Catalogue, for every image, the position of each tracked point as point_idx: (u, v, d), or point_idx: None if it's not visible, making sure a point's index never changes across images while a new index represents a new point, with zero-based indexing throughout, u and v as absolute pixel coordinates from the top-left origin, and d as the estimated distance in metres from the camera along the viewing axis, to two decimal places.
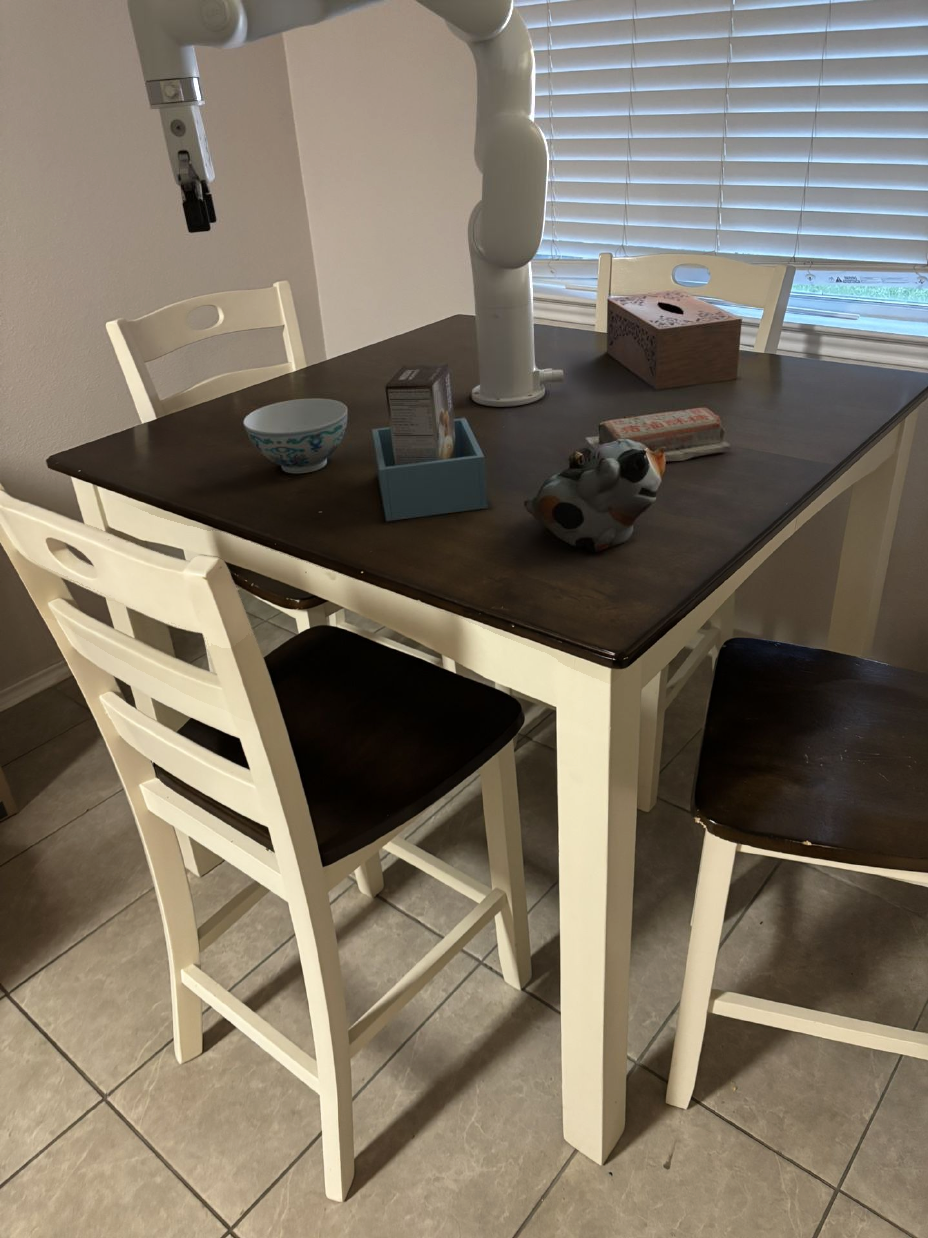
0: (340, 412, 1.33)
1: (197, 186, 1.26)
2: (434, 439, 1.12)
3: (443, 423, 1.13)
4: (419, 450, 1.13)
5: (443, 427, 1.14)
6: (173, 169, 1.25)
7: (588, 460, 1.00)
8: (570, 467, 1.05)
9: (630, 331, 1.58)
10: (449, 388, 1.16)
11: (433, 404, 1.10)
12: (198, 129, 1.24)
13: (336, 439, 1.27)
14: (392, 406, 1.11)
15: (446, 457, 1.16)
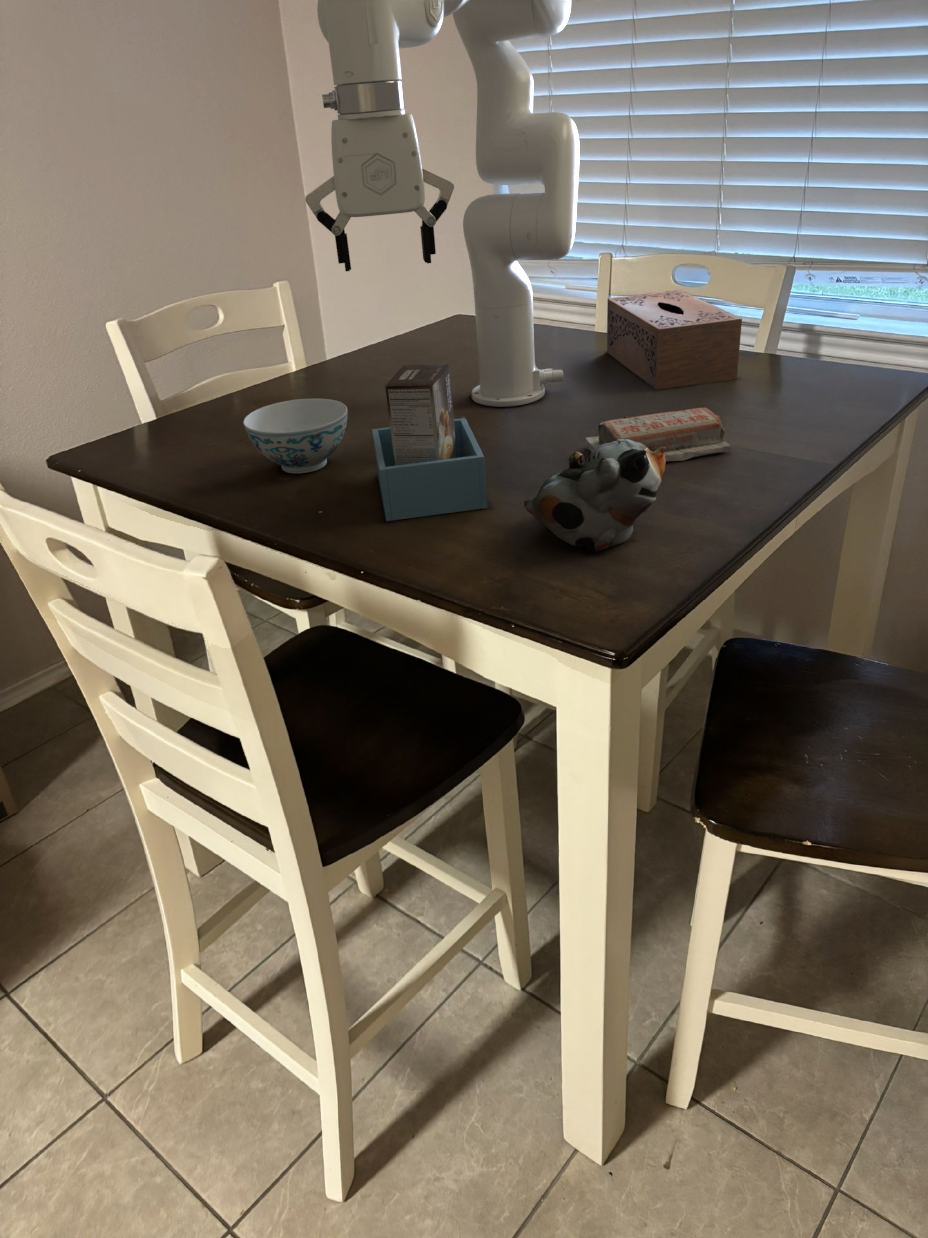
0: (340, 412, 1.33)
1: (337, 217, 1.04)
2: (434, 439, 1.12)
3: (443, 423, 1.13)
4: (419, 450, 1.13)
5: (443, 427, 1.14)
6: None
7: (588, 460, 1.00)
8: (570, 467, 1.05)
9: (630, 331, 1.58)
10: (449, 388, 1.16)
11: (433, 404, 1.10)
12: (342, 150, 0.99)
13: (336, 439, 1.27)
14: (392, 406, 1.11)
15: (446, 457, 1.16)
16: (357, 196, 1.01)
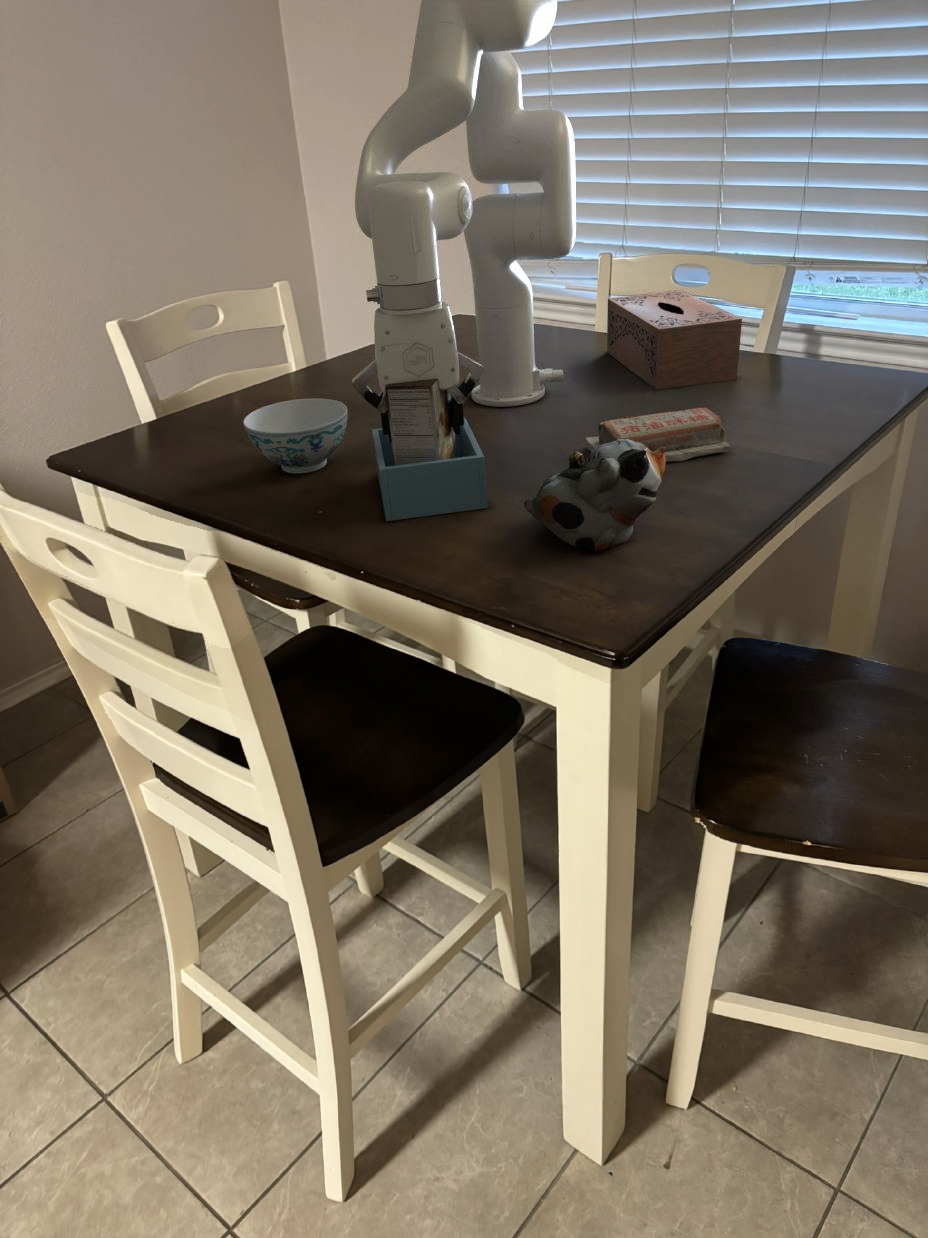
0: (340, 412, 1.33)
1: (382, 397, 1.12)
2: (434, 440, 1.12)
3: (443, 423, 1.13)
4: (419, 450, 1.13)
5: (443, 427, 1.14)
6: None
7: (588, 460, 1.00)
8: (570, 467, 1.05)
9: (630, 331, 1.58)
10: None
11: (432, 404, 1.10)
12: (384, 340, 1.07)
13: (336, 439, 1.27)
14: (391, 406, 1.11)
15: (446, 457, 1.16)
16: (398, 379, 1.10)
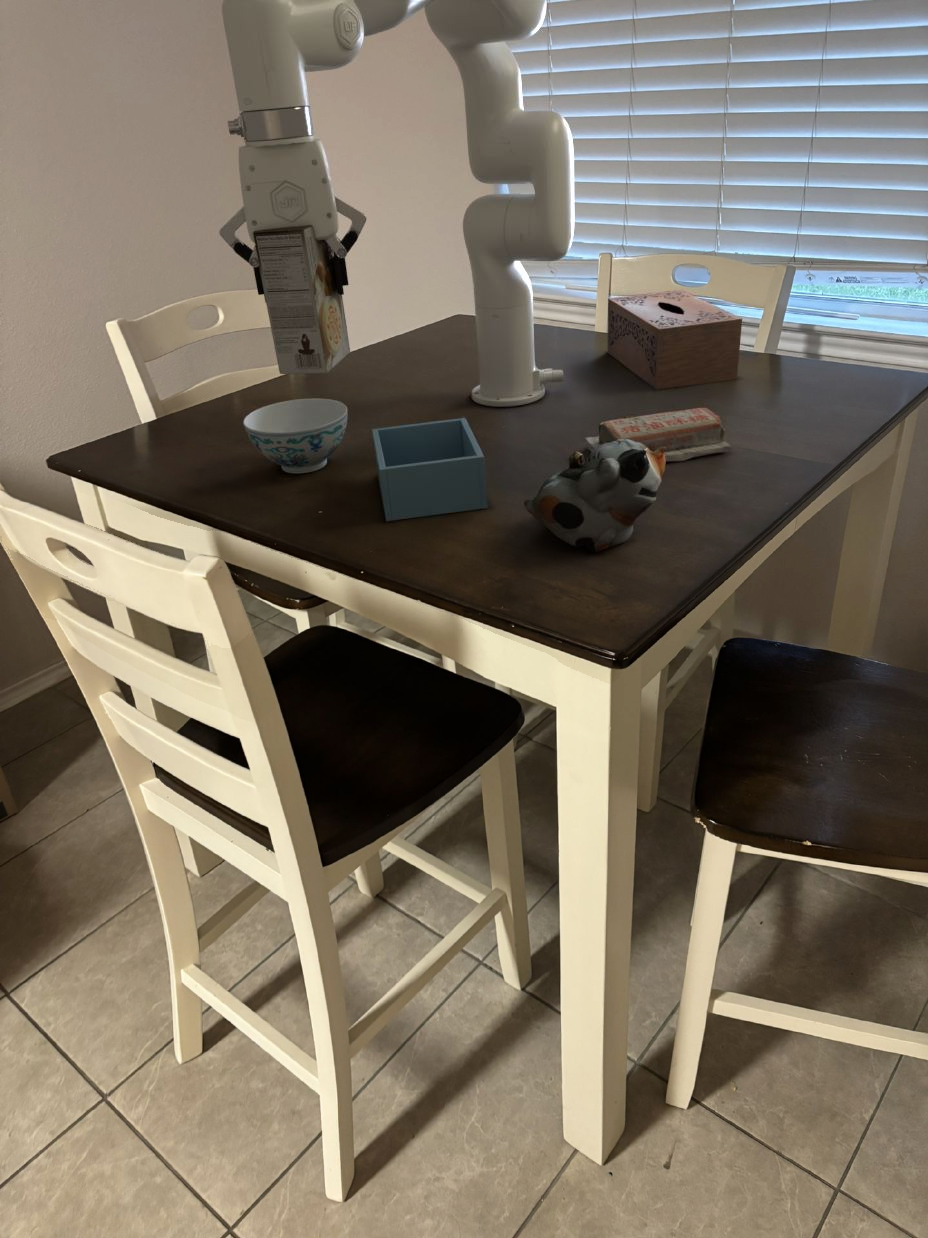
0: (340, 412, 1.33)
1: (253, 249, 1.02)
2: (310, 295, 1.01)
3: (322, 279, 1.03)
4: (295, 308, 1.02)
5: (322, 283, 1.03)
6: None
7: (588, 460, 1.00)
8: (570, 467, 1.05)
9: (630, 331, 1.58)
10: None
11: (306, 252, 0.99)
12: (249, 178, 0.97)
13: (336, 439, 1.27)
14: (262, 256, 1.00)
15: (328, 320, 1.05)
16: (267, 224, 0.99)
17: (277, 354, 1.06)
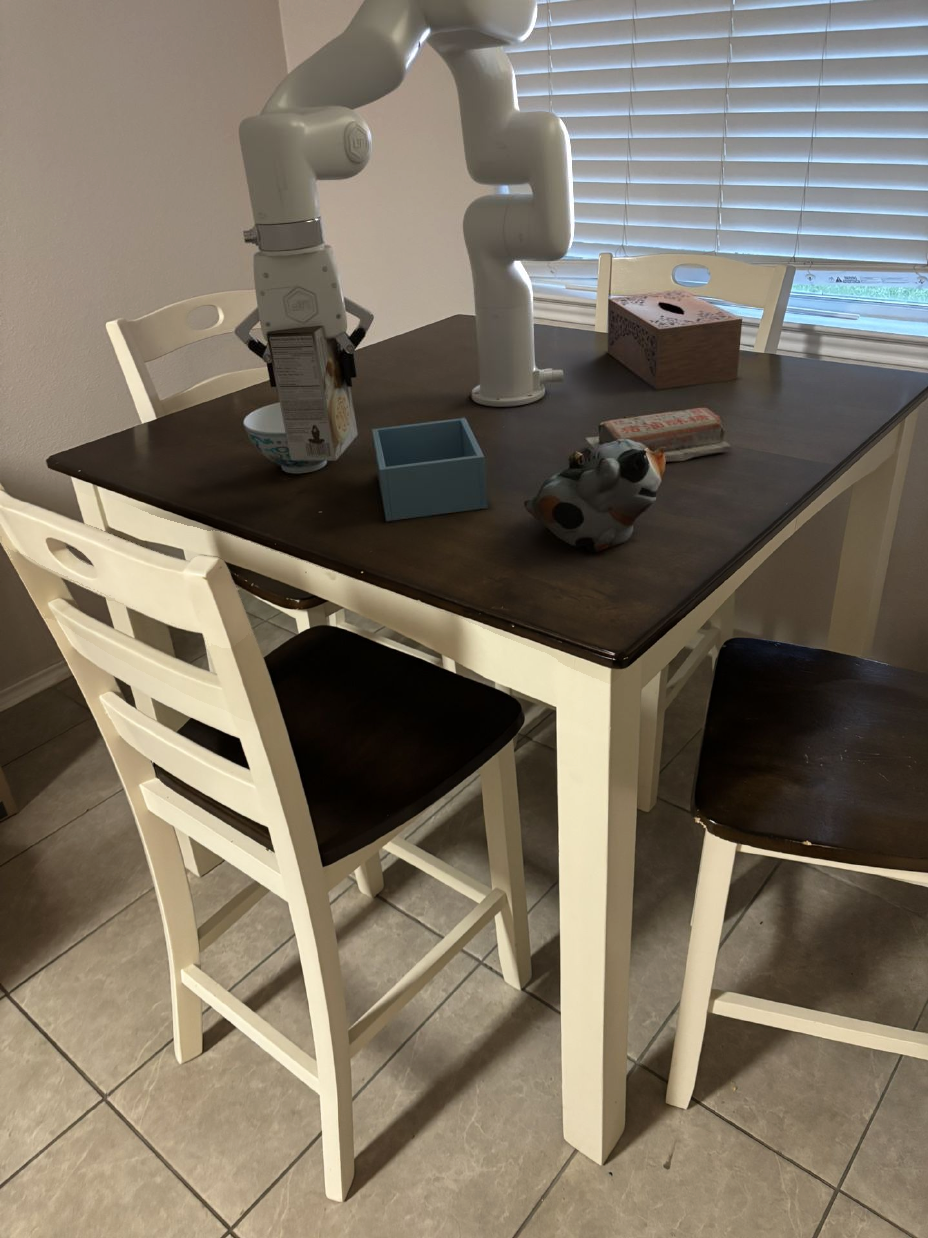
0: None
1: (267, 346, 1.07)
2: (320, 390, 1.07)
3: (331, 374, 1.08)
4: (306, 402, 1.08)
5: (332, 378, 1.08)
6: None
7: (588, 460, 1.00)
8: (570, 467, 1.05)
9: (631, 331, 1.58)
10: None
11: (316, 352, 1.04)
12: (263, 284, 1.02)
13: None
14: (275, 355, 1.05)
15: (337, 410, 1.11)
16: (280, 325, 1.05)
17: (288, 443, 1.11)
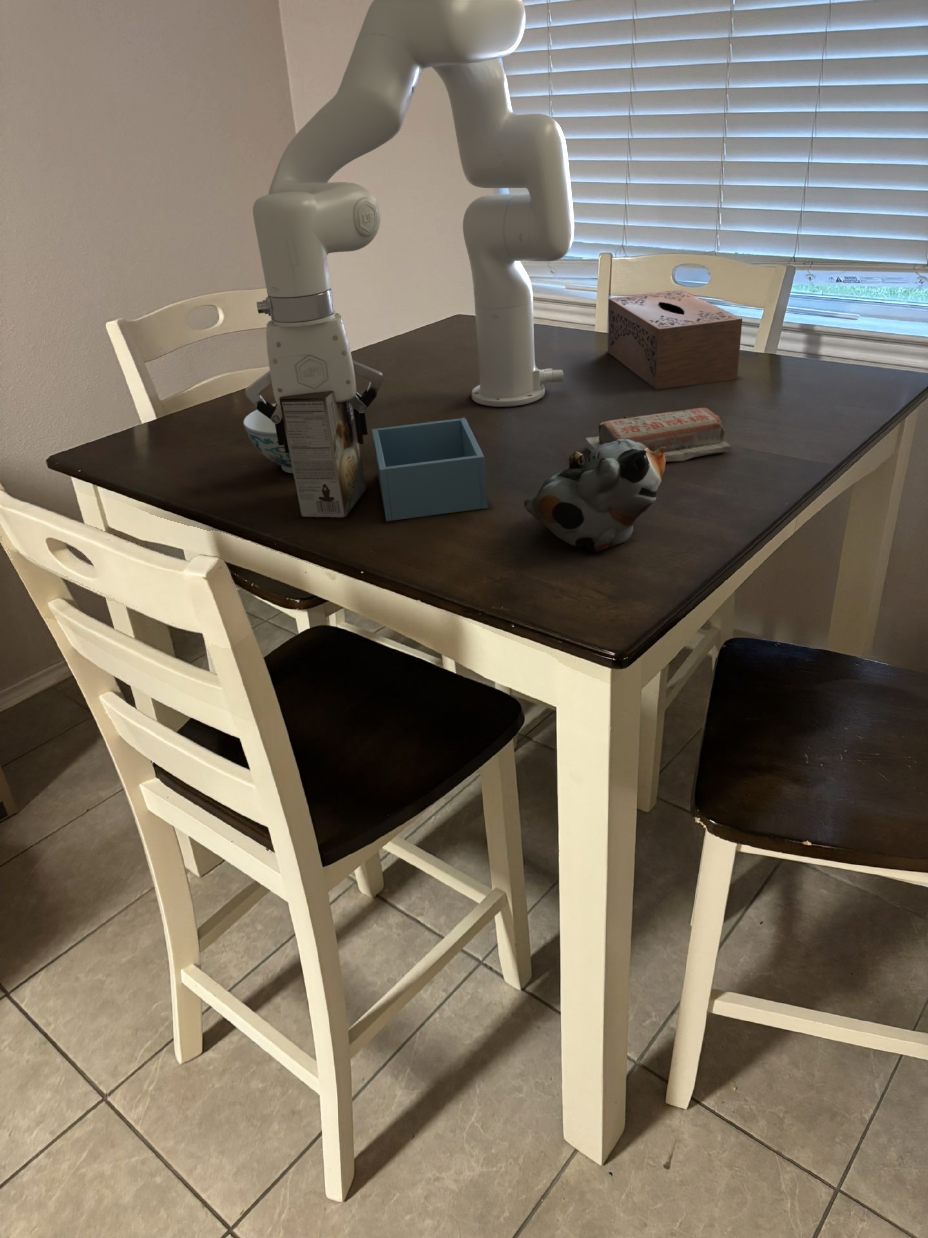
0: None
1: (276, 407, 1.11)
2: (331, 452, 1.11)
3: (341, 435, 1.12)
4: (317, 462, 1.12)
5: (341, 439, 1.13)
6: None
7: (588, 460, 1.00)
8: (570, 467, 1.05)
9: (631, 331, 1.58)
10: None
11: (327, 417, 1.08)
12: (276, 352, 1.06)
13: None
14: (287, 418, 1.10)
15: (347, 469, 1.15)
16: (292, 391, 1.09)
17: (299, 500, 1.15)
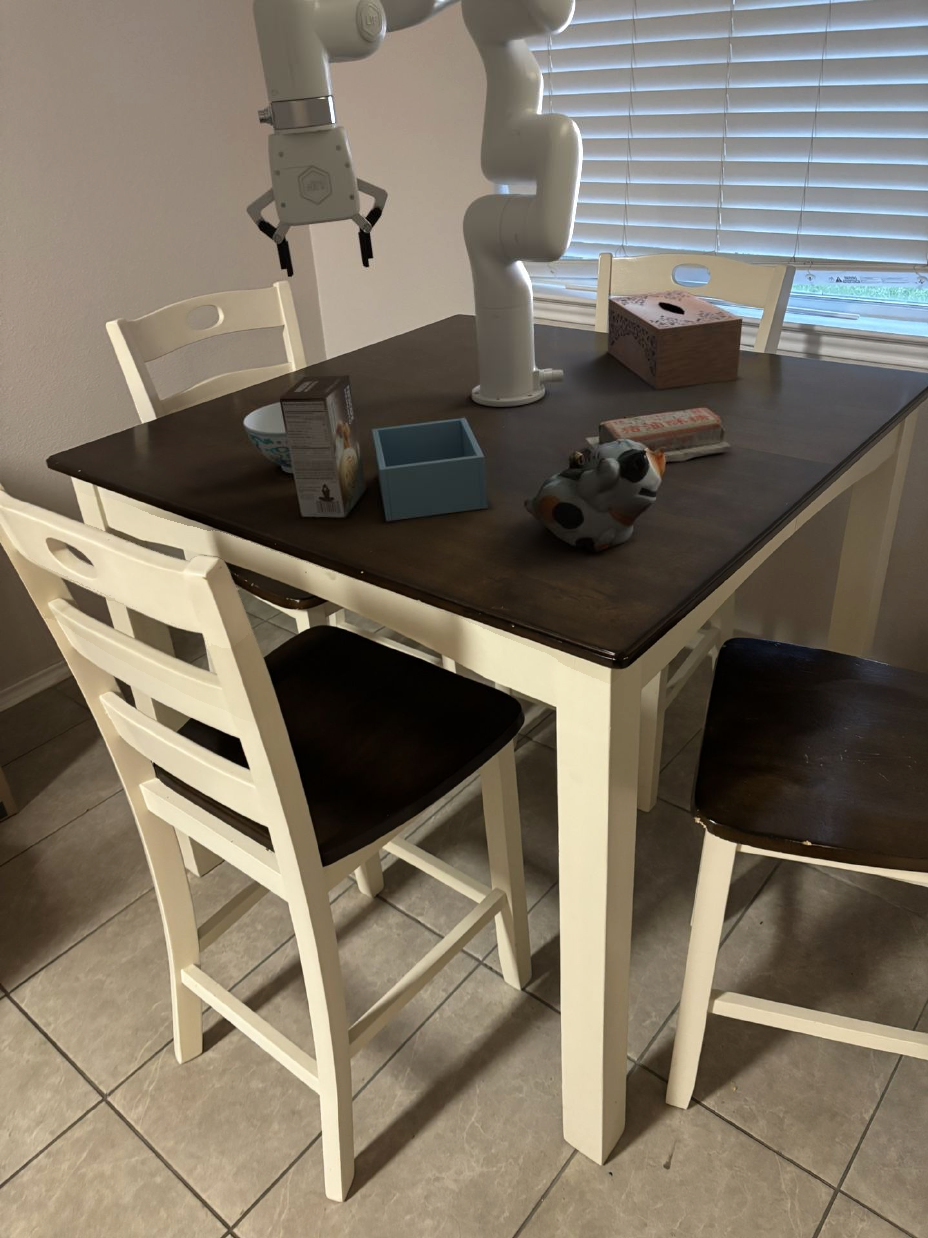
0: None
1: (278, 226, 1.09)
2: (331, 452, 1.11)
3: (341, 435, 1.12)
4: (317, 463, 1.12)
5: (342, 439, 1.13)
6: None
7: (588, 460, 1.00)
8: (570, 467, 1.05)
9: (631, 331, 1.58)
10: (350, 400, 1.15)
11: (327, 417, 1.08)
12: (278, 163, 1.05)
13: None
14: (287, 418, 1.10)
15: (347, 469, 1.15)
16: (295, 206, 1.07)
17: (299, 500, 1.15)
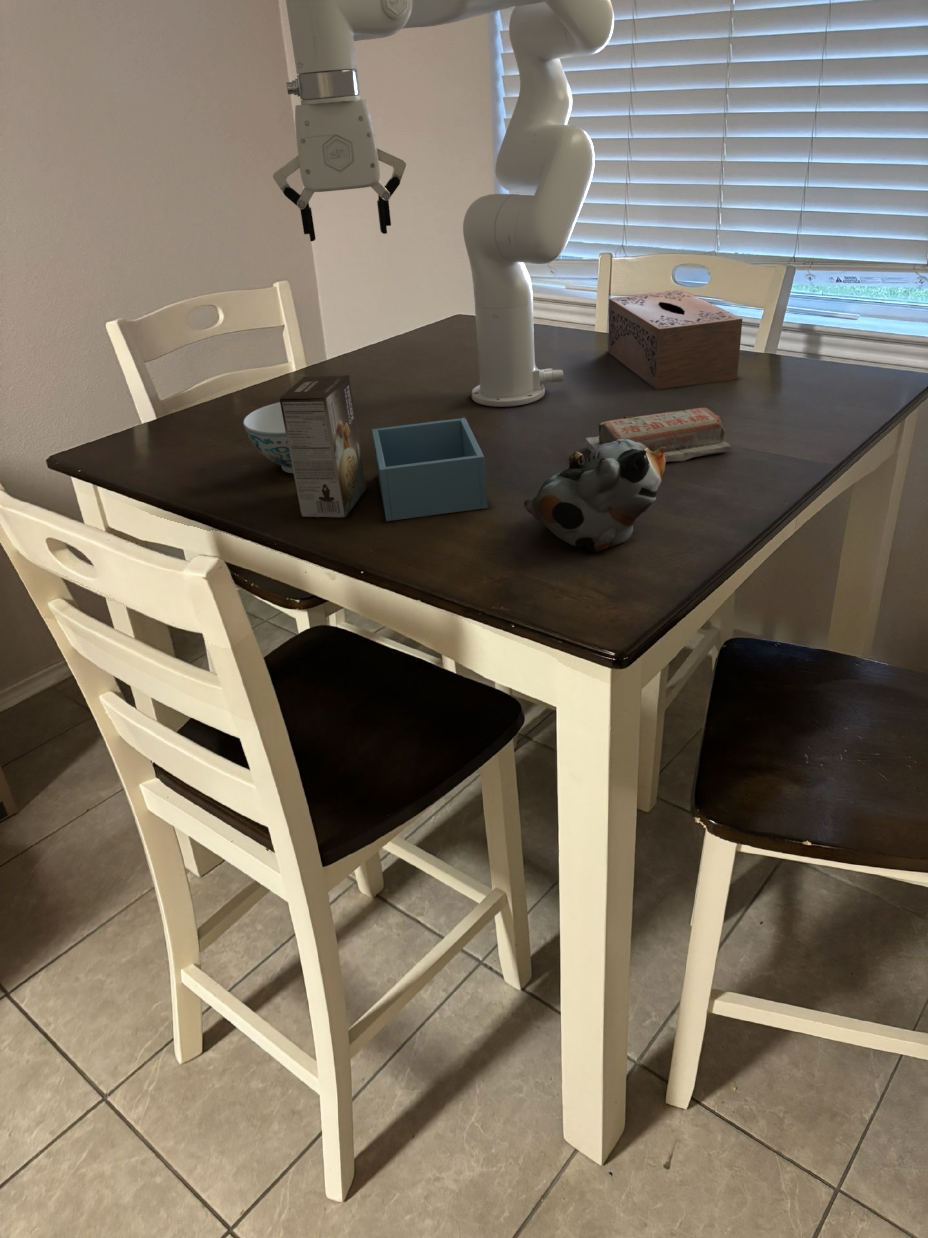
0: None
1: (302, 192, 1.16)
2: (331, 452, 1.11)
3: (341, 435, 1.12)
4: (317, 463, 1.12)
5: (342, 439, 1.13)
6: None
7: (588, 460, 1.00)
8: (570, 467, 1.05)
9: (631, 331, 1.58)
10: (350, 400, 1.15)
11: (327, 417, 1.08)
12: (304, 131, 1.12)
13: None
14: (287, 418, 1.10)
15: (347, 469, 1.15)
16: (319, 173, 1.14)
17: (299, 500, 1.15)
